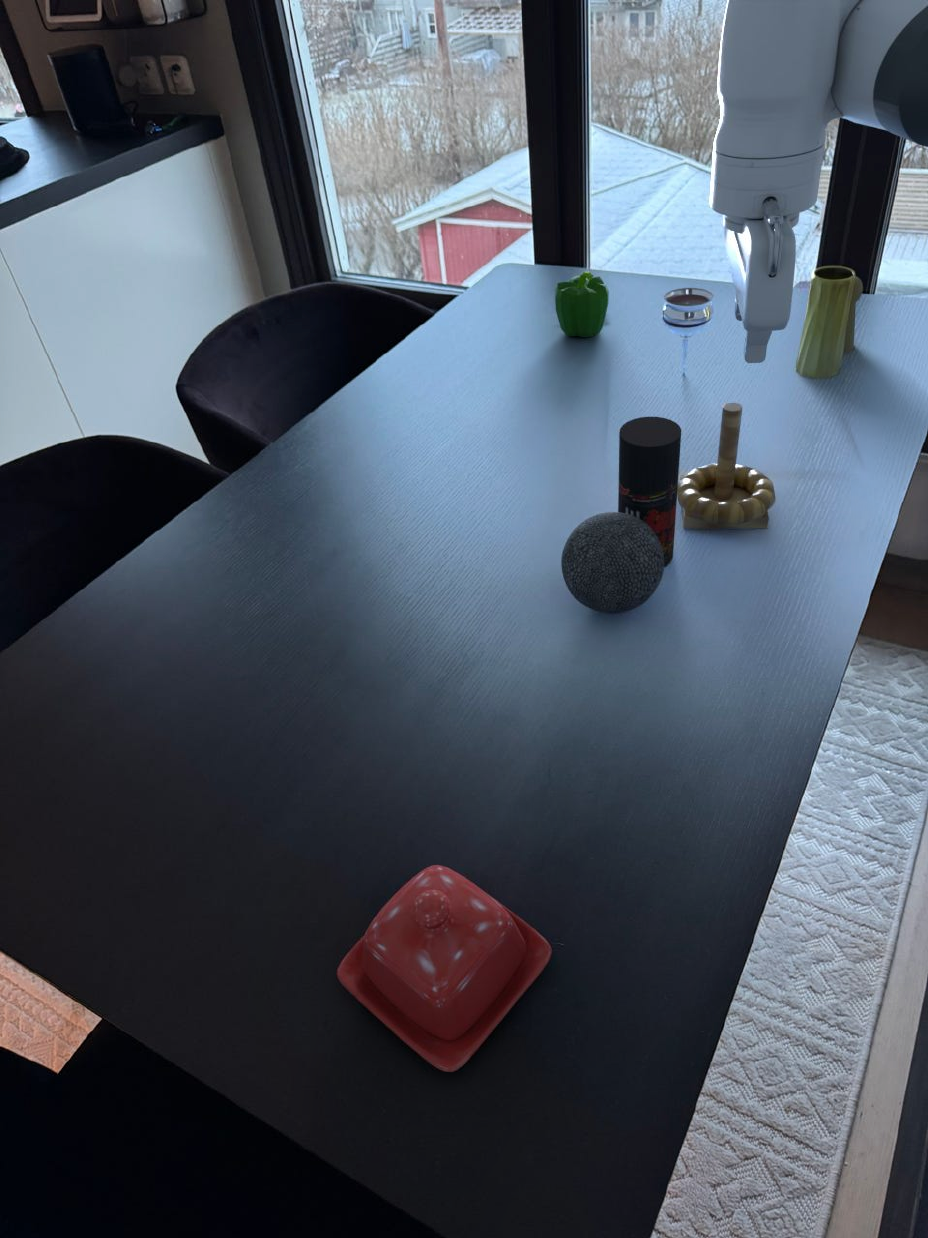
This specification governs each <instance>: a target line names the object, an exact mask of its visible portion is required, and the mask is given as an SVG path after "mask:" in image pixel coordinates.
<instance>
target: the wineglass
mask: <svg viewBox="0 0 928 1238" xmlns="http://www.w3.org/2000/svg"><path fill="white" fill-rule="evenodd" d="M662 298H663V301H664V304H663V306H662V309H661V319H662V322H663V324H664V326H665V327H666V328H667V329H668V330H669V331H670V332H671V333H673V334H674V335H677V336H679V337H680V338H681V339H682V352H681V353H682V356H681V357H682V359H681V360H682V361H681V374H683V375H684V374H686V366H687V359H688V358H687V357H688V349H689V340H690V339H691V338H692V337H693V336H694V335H697V334H700V333H701V332H702V331H703V330H704V329H707V327H708V326H709V325H710V323H711V321H712V319H713V315H714V305H713V303H712V302H713V301H714V299H715V294H714V293H713V292H712V291H710V290H708V289H706V288H701V287H693V286H692V287H690V286H689V287H680V288H679V287H678V288H675V289H671V290H669V291H667V292H666V293H665V294H663V297H662Z"/></svg>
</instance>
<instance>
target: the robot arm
mask: <svg viewBox="0 0 928 1238" xmlns="http://www.w3.org/2000/svg"><path fill="white" fill-rule="evenodd" d="M717 72H718V73H717V95H718V100H719V106H720V107H719V108H720V116H719V118H720V119H719V123H718V127H717V130H716V134H715V137H714V140H713V149H712V165H711V178H710V179H711V180H710V195H709V206H710V208H711V209H712V210H713V211H714V212H716V213H717V214H720V215H722V216H723V220H722V222H723V223H722V225H723V234H724V238H723V239H724V248H725V253H726V258H727V262H728V266H729V270H730V274H731V279H732V283H733V288H734V297H735V298H734V310H733V311H734V317H735V319H736V320H737V321H739V322H742V327H743V329H744V330H745V331H746V333H745V337H744V343H743V344H744V345H743V347H744V348H743V357H744V361H745V363H747V364H760V363H764V361H765V360H766V357H767V349H768V344H769V342H770V339H771V336H772V333H773V332H774V331H783V330H785V329H786V328H787V326H788V324H789V321H790V317H791V311H792V302H793V292H794V291H793V290H794V281H795V270H796V256H797V255H796V254H797V242H796V241H797V240H796V234H795V232H794V230H793V229H794V227H796V226H797V225H798V224H799V221H800V213H803V212H805V211H807V210H809V209H811V208H813V206H815V205H816V203H817V202H818V194H819V188H820V181H821V175H822V173H821V172H822V166H823V158H824V151H825V145H826V136H827V135H826V134H827V133H826V129H827V126H828V124H829V123H830V122H831V121H833V120H836V119H844V120H848V121H849V122H852V123H854V124H858V125H859V124H860V125H863V126H867V127H872V128H876V129H879V130H884V131H887V132H889V133H891V134H893V135H895V136H897V137H899V138H902V139H905V140H907V141H910V142H912V143H914V144H917V145H919V146H922V147H924V148H928V0H727V3H726V7H725V12H724V18H723V24H722V32H721V39H720V48H719V58H718V71H717Z"/></svg>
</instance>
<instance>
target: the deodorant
mask: <svg viewBox="0 0 928 1238" xmlns="http://www.w3.org/2000/svg"><path fill="white" fill-rule="evenodd" d="M618 438H619V440H618V488H617V489H618V491H617V492H618V496H617V499H618V500H617V512H621V513H626V514H629V515H632V516H635V517H637V518H639V519H640V520H642V521H644V522H645V523H646V524H647V525H649V526H650V527H651V529H652V530H653V531H654V532H655V534H656V535H657V537H658V539H659V541H660V544H661V546H662V549H663V554H664V568H666V567H668V566H669V565H670V564H671V562H672V561H673V558H674V551H675V550H674V547H675V533H676V519H677V505H678V503H677V502H678V495H677V490H678V483H679V474H680V473H679V472H680V459H681V458H680V457H681V445H682V444H681V443H682V428H681V426H680V425H679V424H678V423H677V422H676V421H674V420H672V419H669V418H666V417H661V416H641V417H637V418H633V419H630V420H628V421H626V422H625V423H623V424H622V425H621V427H620V428H619V433H618Z"/></svg>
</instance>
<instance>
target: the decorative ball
mask: <svg viewBox="0 0 928 1238" xmlns="http://www.w3.org/2000/svg"><path fill="white" fill-rule="evenodd" d="M560 563H561V564H560V565H561V566H560V567H561V573H562V577H563V581H564V582H565V586H566V587H567V589H568V591H569V593H570V594H571V595H572V596H573V597H574V599H575V600H576V601H577V602H579V603H580V604H581V605H582V606H584V607H586V608H588V609H590V610H592V611H595V612H598V613H602V614H622V613H623V614H624V613H627V612H629V611H633V610H635V609H638V608H639V607H640V606H642V605H643V604H644V603H646V602H647V601H648V600H649V599H650V598H651V597H652V596H653V595H654V593H655V592H656V590H657V589H658V587H659V585H660V583H661V581H662V578H663V575H664V570H665V567H664V554H663V549H662V546H661V544H660V541H659V539H658V537H657V535H656V534H655V532H654V531H653V530H652V529H651V527H650V526H649V525H647V524H646V523H645V522H644V521H642V520H640V519H639V518H637V517H635V516H632V515H629V514H626V513H621V512H618V511H608V512H607V511H606V512H602V513H597V514H595V515H592V516H590V517H587V518H586V519H584V520H583V521H582V522H580V523H579V524H578V525H577V526H576V527H575V528H574V529H573V530H572V532H571V533H570V535H569V536H568V538H567V539H566V541H565V543H564V546H563V549H562V552H561V560H560Z"/></svg>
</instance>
